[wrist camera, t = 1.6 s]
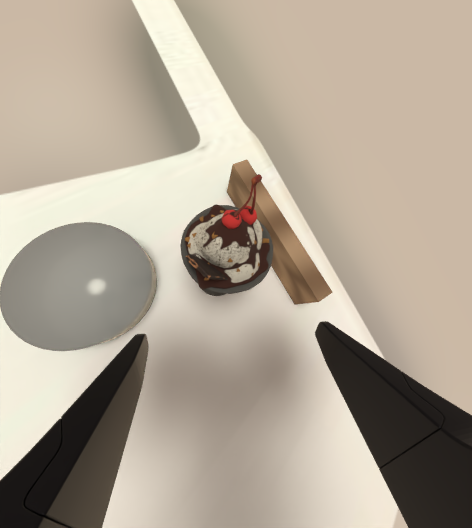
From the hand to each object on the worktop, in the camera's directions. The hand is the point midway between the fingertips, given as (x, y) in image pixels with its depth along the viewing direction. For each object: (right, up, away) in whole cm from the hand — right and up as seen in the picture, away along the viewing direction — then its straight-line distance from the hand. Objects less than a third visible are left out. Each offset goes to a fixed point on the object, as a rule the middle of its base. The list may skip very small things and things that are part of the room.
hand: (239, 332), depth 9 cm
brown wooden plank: (+4, +7, +16) cm, 17 cm away
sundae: (-3, +2, +13) cm, 14 cm away
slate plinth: (-15, +1, +10) cm, 19 cm away
